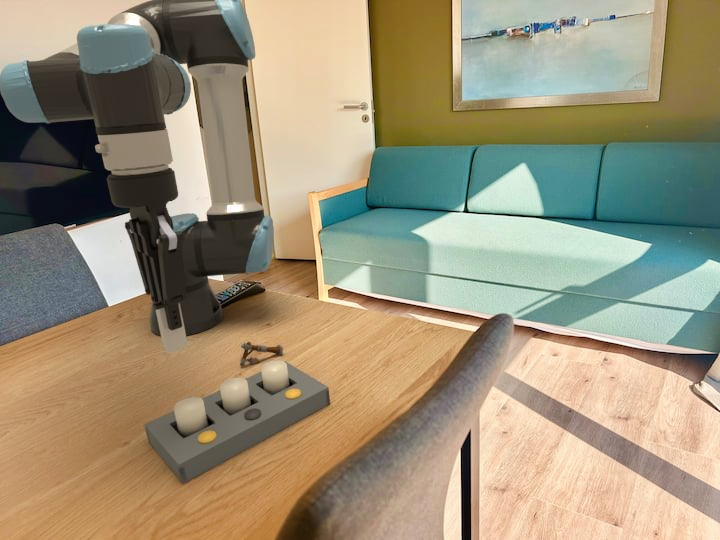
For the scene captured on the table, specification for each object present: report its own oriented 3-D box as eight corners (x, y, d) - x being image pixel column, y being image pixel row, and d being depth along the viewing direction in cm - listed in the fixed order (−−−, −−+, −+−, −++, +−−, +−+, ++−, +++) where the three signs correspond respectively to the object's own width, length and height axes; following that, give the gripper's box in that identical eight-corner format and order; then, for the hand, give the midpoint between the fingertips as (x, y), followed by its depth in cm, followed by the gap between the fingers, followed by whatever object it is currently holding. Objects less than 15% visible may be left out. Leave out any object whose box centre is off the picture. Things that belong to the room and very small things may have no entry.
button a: (174, 428, 73) (169, 405, 72) (200, 416, 76) (196, 393, 75) (186, 440, 71) (180, 417, 69) (212, 427, 73) (208, 404, 72)
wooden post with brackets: (234, 363, 93) (240, 339, 93) (273, 366, 98) (279, 343, 97) (237, 367, 92) (244, 343, 91) (277, 369, 96) (283, 346, 96)
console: (148, 441, 74) (143, 422, 73) (286, 376, 89) (284, 359, 88) (183, 483, 66) (178, 462, 65) (330, 403, 80) (328, 385, 79)
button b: (219, 407, 78) (215, 385, 76) (242, 396, 80) (239, 374, 79) (231, 418, 75) (228, 395, 74) (255, 406, 77) (252, 384, 76)
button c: (259, 388, 82) (256, 367, 81) (280, 378, 84) (277, 357, 83) (272, 398, 79) (269, 376, 78) (294, 387, 82) (291, 366, 80)
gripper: (90, 170, 63) (130, 343, 71) (126, 178, 54) (167, 376, 62) (151, 162, 68) (182, 325, 76) (193, 168, 59) (224, 353, 66)
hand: (176, 348), depth 69 cm, fingers closed
